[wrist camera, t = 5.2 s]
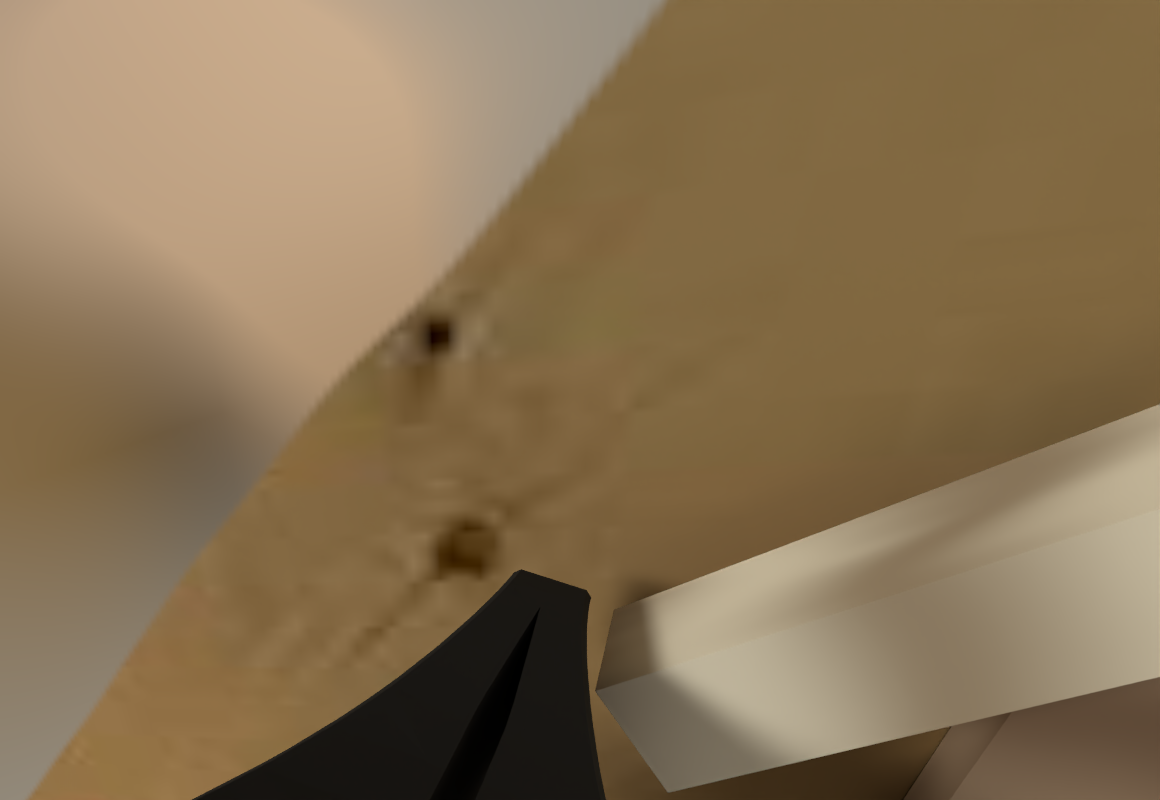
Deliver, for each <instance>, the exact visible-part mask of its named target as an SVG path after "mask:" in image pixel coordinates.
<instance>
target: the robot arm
mask: <svg viewBox="0 0 1160 800" xmlns="http://www.w3.org/2000/svg"><path fill="white" fill-rule="evenodd" d="M590 600H591V597H590V595H589V593H588V592H587V590H584V589H581V588H578V587H575V586H572V585H568V584H565V583H562V582H559V581H556V580H553V579H550V578H547V577H543V576H540V575H537V574H534V573H531V572H528V571H525V570H522V569H521V570H519V571H517V572H514V573H513V575H512V576H511V577H510V578H509V579H508V580H507V582H506V583H505V584H504V585H503V586H502V587H501V588H500V589H499V590H498V591H497V592H496V593H495V594H494V595H493V596H492V597H491V598H490V599H489V600H488V601H487V602H486V603H485V604H484V605H483V606H482V607H481V608H480V609H479V610H478V611H477V612H476V613H475V614H474V615H473V616H472V617H471V618H469V619H468V620H467V621H466V622H465V623H464V624H463V625H461V626H460V627H459V628H458V629H457V630H456V631H455V632H454V633H452V634H451V635H450V636H449V637H448V638H447V639H446V640H445V641H443V642H442V643H441V644H440V645H439V646H437V647H436V648H435V649H434V650H432V651H431V652H430V653H429V654H427V655H426V656H425V657H424V658H422V659H421V660H420V661H418V662H417V663H416V664H415V665H413V666H412V667H411V668H410V669H408V670H407V671H406V672H404V673H403V674H402V675H401V676H399V677H398V678H397V679H395V680H394V681H393V682H391V683H390V684H388V685H387V686H386V687H384V688H383V689H381V690H380V691H379V692H377V693H376V694H374V695H373V696H371V697H370V698H369V699H367V700H366V701H364V702H363V703H361V704H360V705H358V706H357V707H355V708H354V709H352V710H351V711H349V712H348V713H346V714H345V715H343V716H342V717H340V718H338V719H337V720H335V721H334V722H332V723H330V724H329V725H327V726H325V727H324V728H322V729H320V730H319V731H317V732H316V733H314V734H312V735H311V736H309V737H307V738H306V739H304V740H302V741H301V742H299V743H297V744H296V745H294V746H292V747H291V748H289V749H287V750H285V751H284V752H282V753H280V754H278V755H277V756H275V757H273V758H271V759H269V760H268V761H266V762H264V763H262V764H260V765H258V766H256V767H254V768H253V769H251V770H249V771H247V772H245V773H243V774H241V775H239V776H237V777H235V778H233V779H231V780H229V781H227V782H225V783H223V784H221V785H220V786H218V787H216V788H214V789H212V790H210V791H208V792H206V793H204V794H202V795H200V796H198V797H196V798H194V799H192V800H606V799H605V794H604V789H603V784H602V779H601V773H600V768H599V762H598V756H597V750H596V743H595V736H594V729H593V722H592V714H591V705H590V694H589V682H588V669H587V619H588V610H589V604H590Z"/></svg>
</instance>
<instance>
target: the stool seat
mask: <svg viewBox="0 0 1160 800" xmlns="http://www.w3.org/2000/svg"><path fill="white" fill-rule="evenodd" d="M903 800H1160V677H1157V678H1153V679H1149V680H1144V681H1140V682H1136V683H1132V684H1127V685H1123V686H1119V687H1115V688H1110V689H1106V690H1102V691H1098V692H1093V693H1089V694H1085V695H1081V696H1076V697H1072V698H1068V699H1064V700H1059V701H1055V702H1051V703H1047V704H1043V705H1038V706H1034V707H1030V708H1026V709H1021V710H1017V711H1013V712H1009V713H1004V714H1000V715H996V716H992V717H987V718H983V719H979V720H975V721H970V722H966V723H962V724H958V725H953V726H951V728H950V730H949V731H948V733H947V734H946V736H945V737H944V739H943V740H942V742H941V743H940V745H939V746H938V748H937V749H936V751H935V752H934V754H933V755H932V757H931V758H930V760H929V761H928V763H927V764H926V766H925V767H924V769H923V770H922V772H921V774H920V775H919V777H918V778H917V780H916V781H915V783H914V784H913V786H912V787H911V789H910V790H909V792H908V793H907V795H906V796H905V798H904V799H903Z"/></svg>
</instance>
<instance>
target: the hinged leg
mask: <svg viewBox="0 0 1160 800" xmlns="http://www.w3.org/2000/svg"><path fill="white" fill-rule="evenodd" d="M1157 677H1160V404H1159V405H1156V406H1154V407H1151V408H1148V409H1146V410H1143V411H1140V412H1138V413H1135V414H1132V415H1130V416H1127V417H1125V418H1122V419H1119V420H1117V421H1114V422H1111V423H1109V424H1106V425H1103V426H1101V427H1098V428H1095V429H1093V430H1090V431H1087V432H1085V433H1082V434H1079V435H1077V436H1074V437H1071V438H1069V439H1066V440H1063V441H1061V442H1058V443H1056V444H1053V445H1050V446H1048V447H1045V448H1042V449H1040V450H1037V451H1034V452H1032V453H1029V454H1026V455H1024V456H1021V457H1018V458H1016V459H1013V460H1010V461H1008V462H1005V463H1002V464H1000V465H997V466H995V467H992V468H989V469H987V470H984V471H981V472H979V473H976V474H973V475H971V476H968V477H965V478H963V479H960V480H957V481H955V482H952V483H949V484H947V485H944V486H941V487H939V488H936V489H933V490H931V491H928V492H926V493H923V494H920V495H918V496H915V497H912V498H910V499H907V500H904V501H902V502H899V503H896V504H894V505H891V506H888V507H886V508H883V509H880V510H878V511H875V512H872V513H870V514H867V515H864V516H862V517H859V518H857V519H854V520H851V521H849V522H846V523H843V524H841V525H838V526H835V527H833V528H830V529H827V530H825V531H822V532H819V533H817V534H814V535H811V536H809V537H806V538H803V539H801V540H798V541H795V542H793V543H790V544H788V545H785V546H782V547H780V548H777V549H774V550H772V551H769V552H766V553H764V554H761V555H758V556H756V557H753V558H750V559H748V560H745V561H742V562H740V563H737V564H734V565H732V566H729V567H726V568H724V569H721V570H719V571H716V572H713V573H711V574H708V575H705V576H703V577H700V578H697V579H695V580H692V581H689V582H687V583H684V584H681V585H679V586H676V587H673V588H671V589H668V590H665V591H663V592H660V593H657V594H655V595H652V596H650V597H647V598H644V599H642V600H639V601H636V602H634V603H631V604H628V605H626V606H623V607H620V608H618V609H615V610H614V613H613V617H612V621H611V625H610V630H609V634H608V638H607V643H606V647H605V651H604V656H603V660H602V664H601V669H600V673H599V677H598V681H597V686H596V690H595V691H596V693H597V694H598V696H599V697H600V698H601V700H602V701H603V703H604V704H605V705H606V707H607V708H608V710H609V711H610V712H611V714H612V715H613V717H614V718H615V719H616V721H617V722H618V724H619V725H620V726H621V728H622V729H623V731H624V732H625V733H626V735H627V736H628V738H629V739H630V740H631V742H632V743H633V745H634V746H635V747H636V749H637V750H638V752H639V753H640V754H641V756H642V757H643V759H644V760H645V761H646V763H647V764H648V766H649V767H650V768H651V770H652V771H653V773H654V774H655V775H656V777H657V778H658V780H659V781H660V782H661V784H662V785H663V787H664V788H665V789H666V791H667V792H668V793H669V792H673V791H678V790H682V789H686V788H690V787H695V786H699V785H703V784H707V783H712V782H716V781H720V780H724V779H729V778H733V777H737V776H741V775H746V774H750V773H754V772H758V771H763V770H767V769H771V768H775V767H779V766H784V765H788V764H792V763H796V762H801V761H805V760H809V759H813V758H818V757H822V756H826V755H830V754H835V753H839V752H843V751H847V750H852V749H856V748H860V747H864V746H869V745H873V744H877V743H881V742H886V741H890V740H894V739H898V738H903V737H907V736H911V735H915V734H919V733H924V732H928V731H932V730H936V729H941V728H945V727H949V726H953V725H958V724H962V723H966V722H970V721H975V720H979V719H983V718H987V717H992V716H996V715H1000V714H1004V713H1009V712H1013V711H1017V710H1021V709H1026V708H1030V707H1034V706H1038V705H1043V704H1047V703H1051V702H1055V701H1059V700H1064V699H1068V698H1072V697H1076V696H1081V695H1085V694H1089V693H1093V692H1098V691H1102V690H1106V689H1110V688H1115V687H1119V686H1123V685H1127V684H1132V683H1136V682H1140V681H1144V680H1149V679H1153V678H1157Z"/></svg>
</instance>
